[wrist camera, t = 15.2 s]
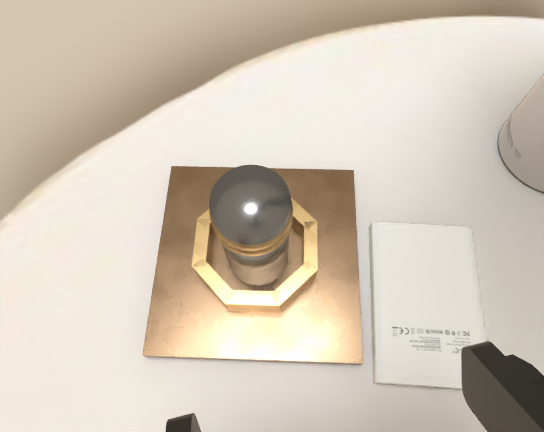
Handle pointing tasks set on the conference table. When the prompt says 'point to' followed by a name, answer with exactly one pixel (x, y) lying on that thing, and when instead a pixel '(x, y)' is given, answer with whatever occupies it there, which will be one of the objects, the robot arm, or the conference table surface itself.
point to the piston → (252, 222)
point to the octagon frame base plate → (258, 298)
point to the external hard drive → (423, 302)
